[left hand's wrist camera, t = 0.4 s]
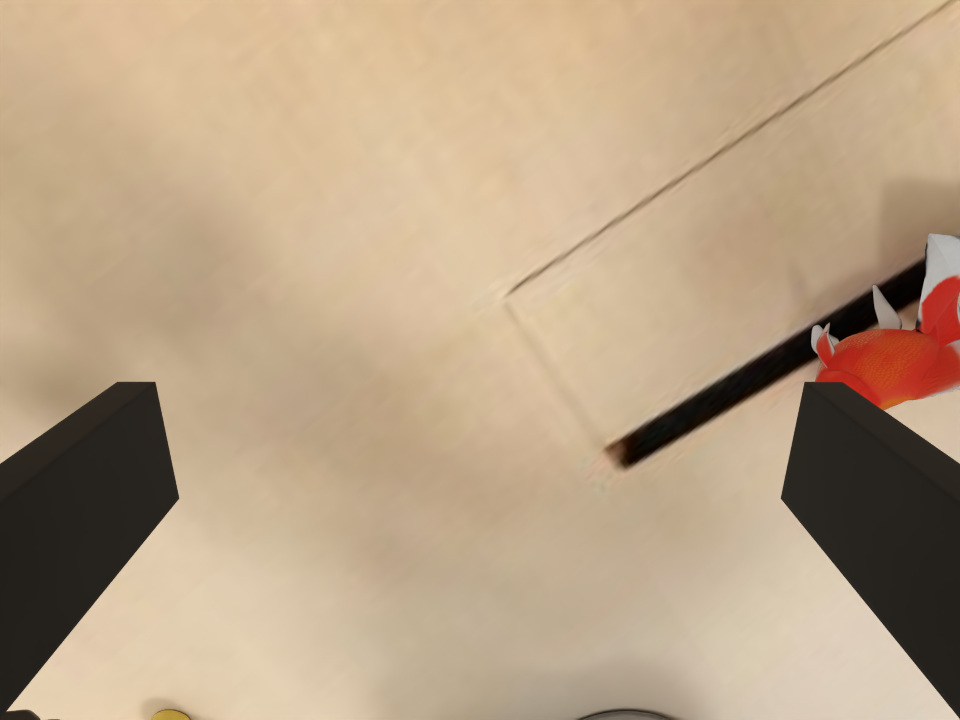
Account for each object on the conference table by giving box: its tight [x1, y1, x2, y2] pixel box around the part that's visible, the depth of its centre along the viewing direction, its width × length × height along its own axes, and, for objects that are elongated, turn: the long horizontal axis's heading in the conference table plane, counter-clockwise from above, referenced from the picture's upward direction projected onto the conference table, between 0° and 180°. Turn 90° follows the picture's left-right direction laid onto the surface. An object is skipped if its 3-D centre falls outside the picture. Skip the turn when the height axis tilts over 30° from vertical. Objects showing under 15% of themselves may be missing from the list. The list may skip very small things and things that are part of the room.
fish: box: [811, 233, 960, 410], centre depth 36 cm, size 11×16×10 cm
